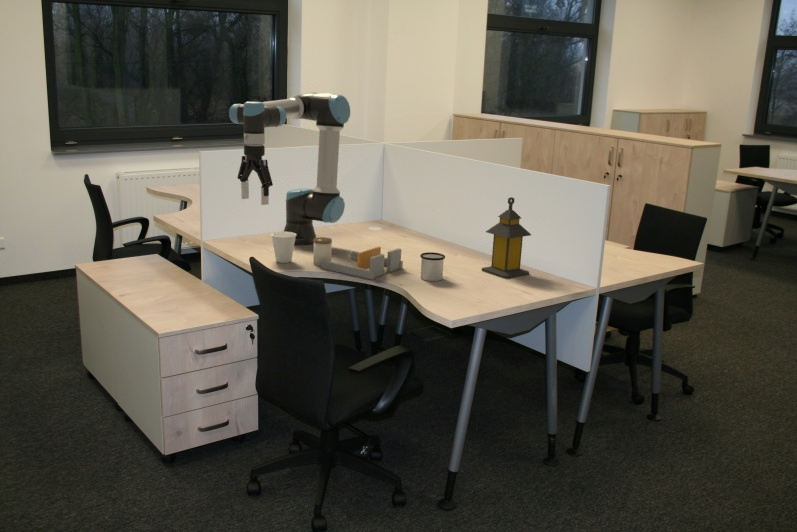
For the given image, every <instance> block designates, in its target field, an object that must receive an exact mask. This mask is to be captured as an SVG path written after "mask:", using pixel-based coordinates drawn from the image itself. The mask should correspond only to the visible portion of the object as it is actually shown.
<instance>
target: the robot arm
mask: <svg viewBox="0 0 797 532" xmlns="http://www.w3.org/2000/svg"><path fill="white" fill-rule="evenodd" d="M228 114H229V115H228V117H229V120H230V121H231V122H232V123H234V124H238V125H243V143H244V146H243V154H244V155H242V156H241V163H240V166H239V170H238V174H237V177H236V178H237V180H240V181H239V182H240V187H241V188H240V189H241V200H247V199H250V198H249V197H250V194H249V193H250V191H249V190H250V189H249V188H250V187H249V186H250V185H249V178H250V175H251V173H252V172H253V171H254V172H255V173H256V174H257V176H258V179H259V181H260V184H261V186H260V195H261V197H260V201H261V202H260V203H261V204H260V205H261V206H265V205H266V206H267V205H269V204H270V203H269V202H270V201H269V196H270V187H273V180H272V176H271V173H270V170H269V164H268V159H263V157H264V156H265V155H266V153H265V152H266V150H265V148H266V146H265V145H264V144H266V142H265V140H266V138H265V137H266V136H265V128H274V127H275V128H277V127H282V126H284V124H285V123H286V121H287V119H288V118H291V119H292V120H298V119H300V120H308V121H315V126H316V127H317V128H318V130H319V132H318V133H319V134H318V135H319V136H318V153H317V169H316V171H317V174H316V186H315V187H314V188H298V189H297V188H296V189H291V190H288V191H287V192H286V194H285V195H286V196H285V197H286V199H285V214H286V215H285V226H284V229H283V232H292V233H295V234H296V237H295V243H294V245H310V244H314V242H313V241H314V238H317V235H316V231H315V228H314V223H313V222H314V221H318V222H323V223H326V224H327V223H330V224H334V223H336V222H338V221H339V220H340V219H341V218H342V216H343V214H344V212H345V207H346V205H345V200H344V198H343V197H341V196H340V193H341V191H340V190H339V189H338V188H337V186H338V185H337V184H338V170H339V169H338V168H339V154H340V153H339V149H340V135H341V134H340V133H341V131H342V130H343V129H344V127H345V126H344V125H345V124H346V123H348V122H349V119H350V117H351V106H350V103H349V101H348V100H347V97H345V96H344V95H342V94H336V93H325V92H324V93H323V92H308V93H303V94H297V95H291V96H289V97H288V98H286V99H277V100H270V101H269V100H268V101H263V102H262V101H246V102H244V103H243V104H242V103H234V104H232V105H231V106H230V108H229V111H228Z"/></svg>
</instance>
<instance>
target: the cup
mask: <svg viewBox="0 0 797 532" xmlns="http://www.w3.org/2000/svg"><path fill="white" fill-rule="evenodd" d="M270 235H271V238H272V244H273V250H274V256H275V261H276V262H277V263H282V264H285V263H286V264H287V263H290V262H292V261H293V253H294V249H295V248H294V247H295V244H294V243H295V237H296V234H295V233H292V232H284V231H276V232H273V233H271V234H270Z"/></svg>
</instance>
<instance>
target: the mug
mask: <svg viewBox="0 0 797 532" xmlns="http://www.w3.org/2000/svg"><path fill="white" fill-rule="evenodd" d="M419 257H420V258H421V263H420V264H421V265H420V279H421V280H423V281H427V282H439V281H441V280H443V277H444V275H443V274H444V260H445V258H446V255H445V254H443V253H439V252H433V251H432V252H431V251H429V252H427V251H426V252H423V253H421V254H420V255H419Z"/></svg>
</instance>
